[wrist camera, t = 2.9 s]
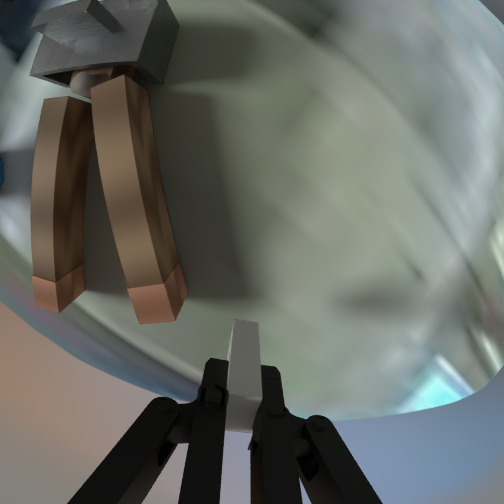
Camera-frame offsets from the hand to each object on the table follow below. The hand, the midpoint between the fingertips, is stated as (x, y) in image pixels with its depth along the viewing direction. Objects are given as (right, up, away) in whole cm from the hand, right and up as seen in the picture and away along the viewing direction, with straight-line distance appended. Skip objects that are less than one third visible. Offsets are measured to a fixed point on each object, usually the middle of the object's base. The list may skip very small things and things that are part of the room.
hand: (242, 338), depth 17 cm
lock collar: (-11, +23, +1) cm, 25 cm away
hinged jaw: (-8, +10, +5) cm, 14 cm away
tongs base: (-14, +13, +4) cm, 20 cm away
